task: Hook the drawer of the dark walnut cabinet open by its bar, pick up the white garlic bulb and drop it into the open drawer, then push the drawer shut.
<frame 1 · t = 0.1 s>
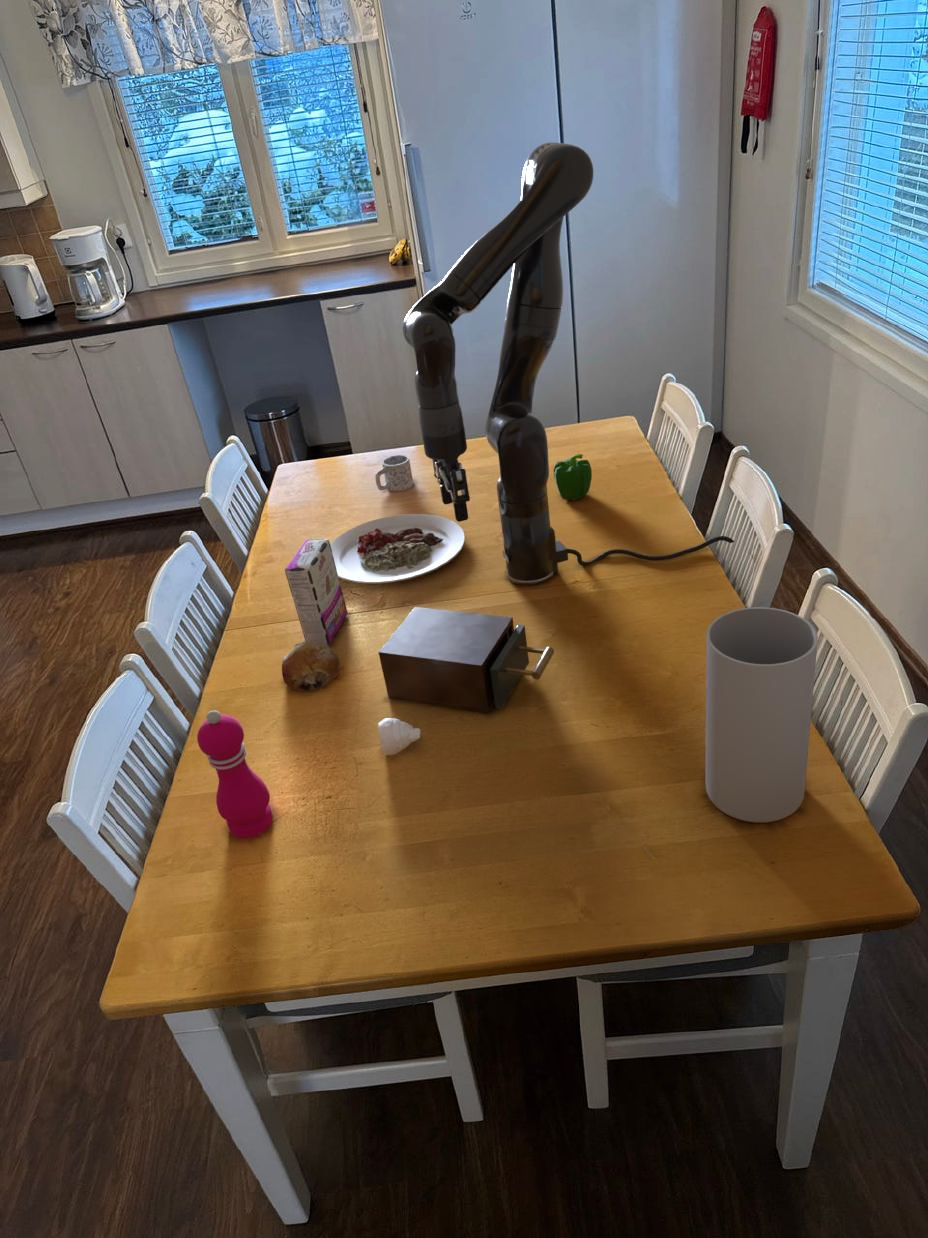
hand: (455, 511, 166), 17 cm above the table, tool pointing down, fingers open, 8 cm apart
cabinet: (454, 681, 151), on the table
plated food: (396, 554, 193), on the table
garlic bulb: (404, 749, 138), on the table
bell pepper: (573, 496, 205), on the table
drawer: (482, 662, 146), point 5 cm above the table, slide at 1.0 cm
pepper mill: (251, 824, 129), on the table
cylinder vase: (753, 792, 121), on the table
mug: (395, 488, 223), on the table
bread roll: (312, 677, 158), on the table
candy bar box: (327, 630, 170), on the table
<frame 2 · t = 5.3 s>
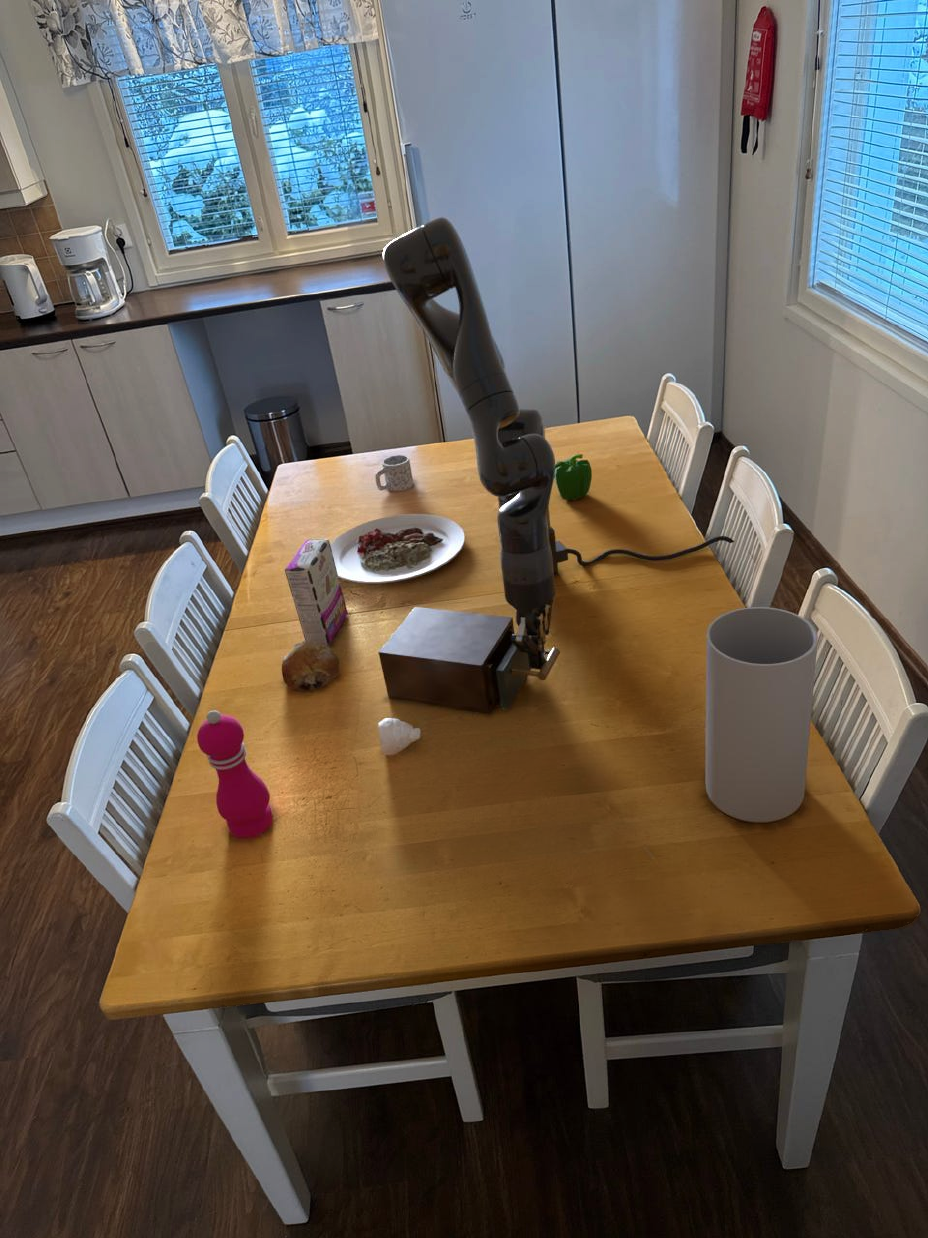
hand: (537, 666, 142), 5 cm above the table, tool pointing down, fingers closed
drawer: (487, 662, 146), point 5 cm above the table, slide at 2.0 cm, touching gripper
everything else where it was.
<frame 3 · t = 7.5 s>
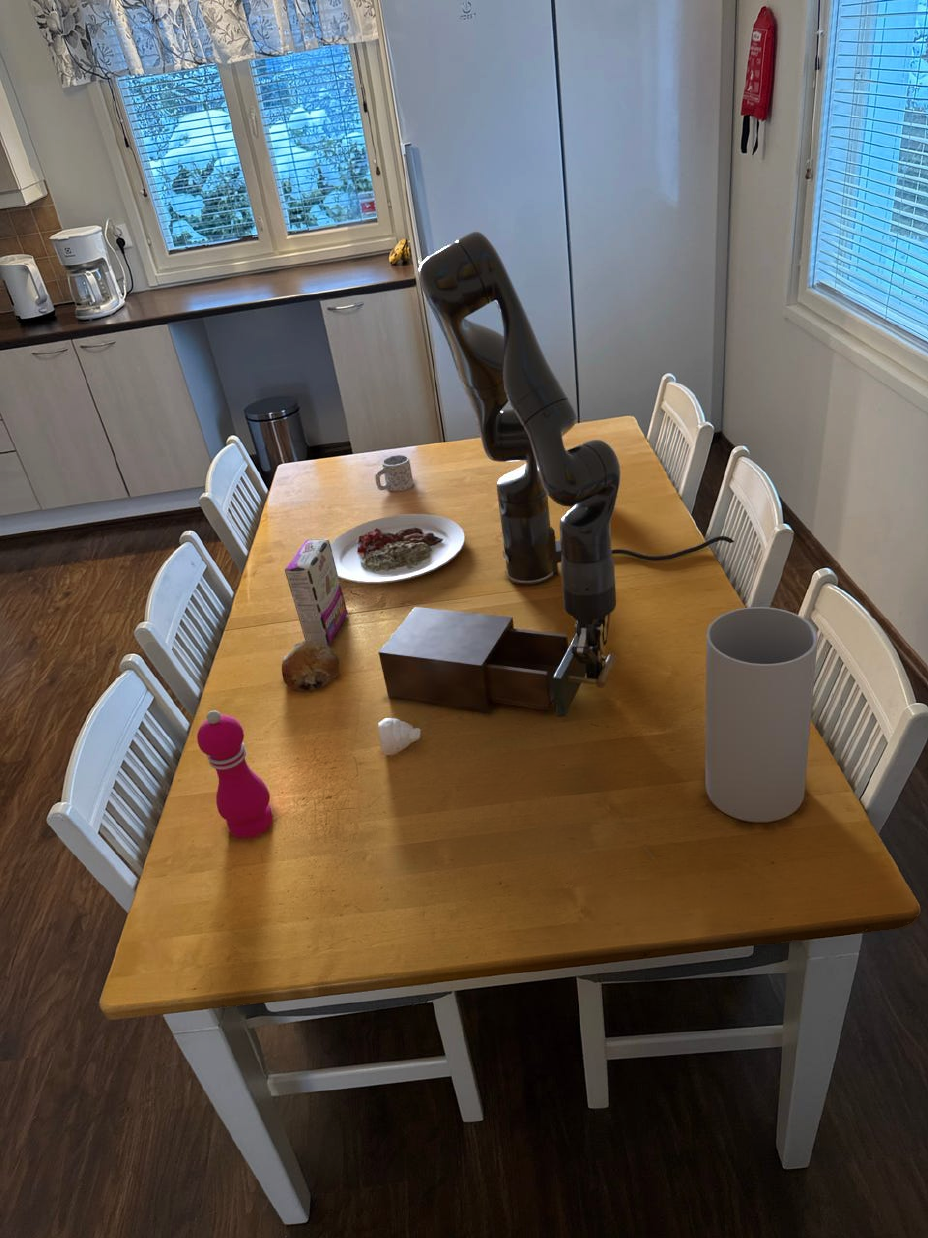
hand: (595, 677, 139), 5 cm above the table, tool pointing down, fingers closed
drawer: (541, 669, 142), point 5 cm above the table, slide at 11.1 cm, touching gripper
everything else where it was.
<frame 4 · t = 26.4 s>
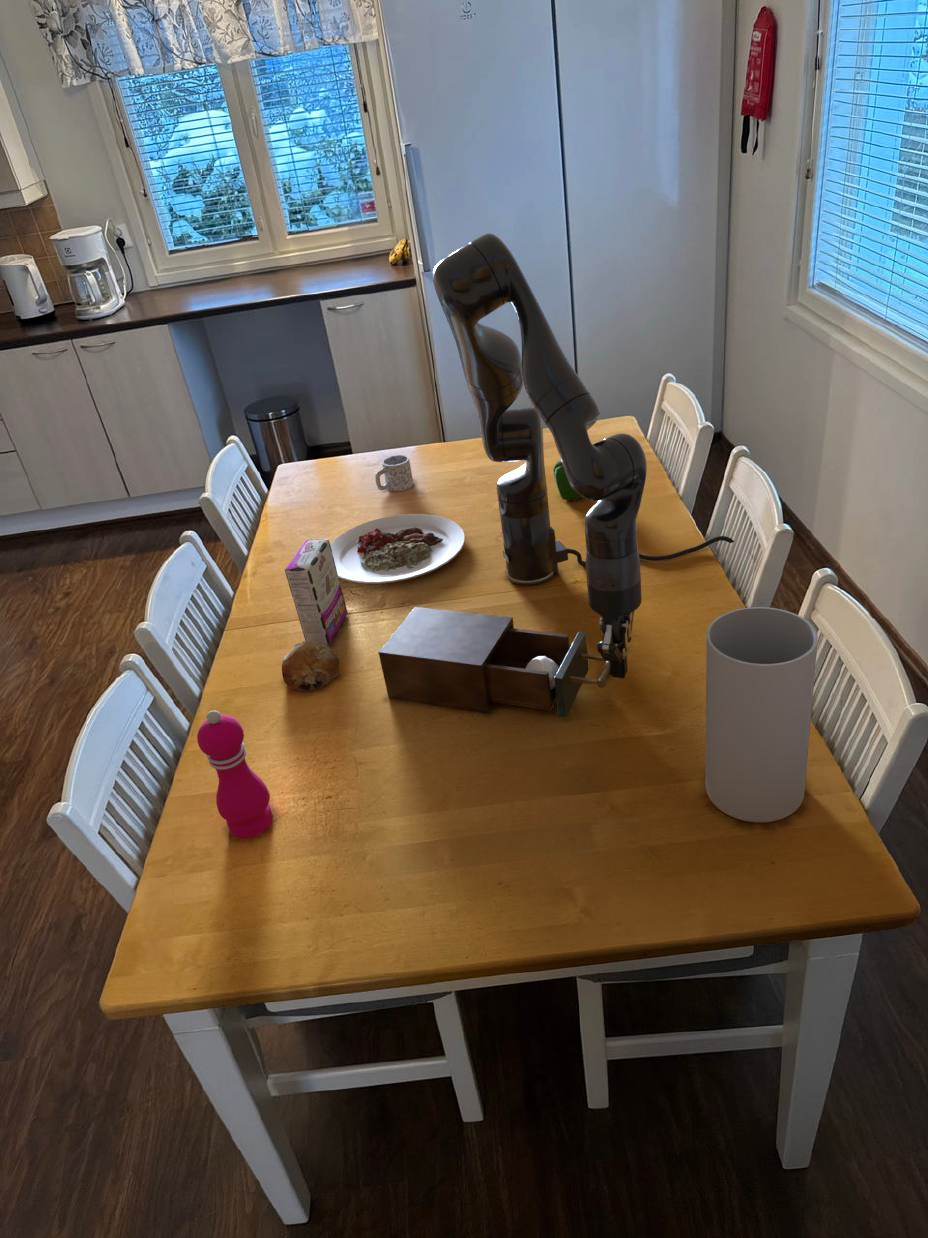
hand: (619, 674, 137), 6 cm above the table, tool pointing down, fingers closed
garlic bulb: (537, 677, 143), point 3 cm above the table, touching drawer
drawer: (542, 670, 142), point 5 cm above the table, slide at 11.2 cm, touching garlic bulb, gripper
everything else where it was.
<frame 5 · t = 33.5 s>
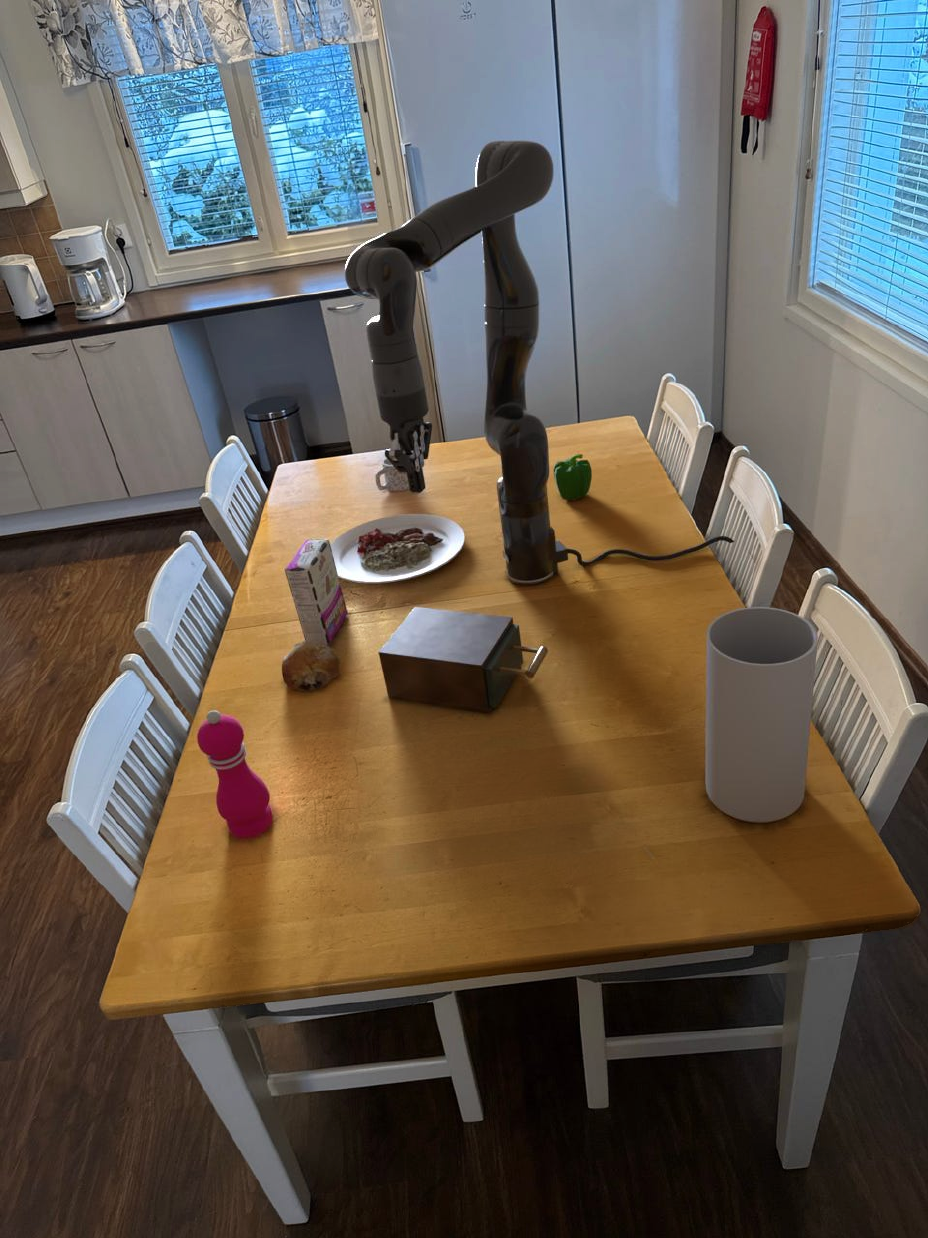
hand: (418, 490, 147), 29 cm above the table, tool pointing down, fingers closed
garlic bulb: (471, 669, 148), point 3 cm above the table, touching drawer
drawer: (476, 661, 147), point 5 cm above the table, slide at 0.0 cm, touching cabinet, garlic bulb
everything else where it was.
at the end: drawer slide at 0.0 cm; garlic bulb inside the target area in the cabinet (3.7 cm from its centre), point 3.1 cm above the cabinet's base; garlic bulb 3.7 cm from the cabinet (horizontally) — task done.
